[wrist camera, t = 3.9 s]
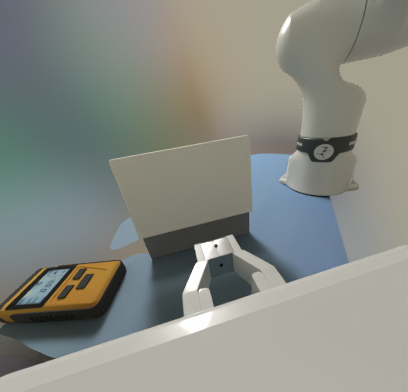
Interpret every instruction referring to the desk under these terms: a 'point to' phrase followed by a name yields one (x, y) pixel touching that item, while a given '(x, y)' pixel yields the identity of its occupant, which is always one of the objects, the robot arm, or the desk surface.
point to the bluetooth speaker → (18, 356)
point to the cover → (186, 185)
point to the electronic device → (64, 293)
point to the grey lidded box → (196, 235)
